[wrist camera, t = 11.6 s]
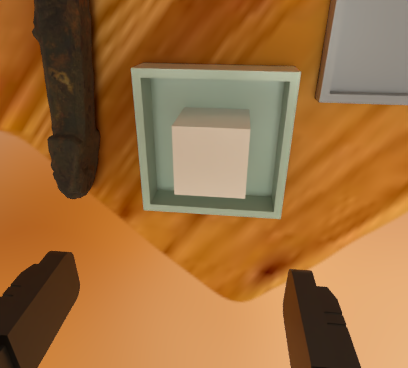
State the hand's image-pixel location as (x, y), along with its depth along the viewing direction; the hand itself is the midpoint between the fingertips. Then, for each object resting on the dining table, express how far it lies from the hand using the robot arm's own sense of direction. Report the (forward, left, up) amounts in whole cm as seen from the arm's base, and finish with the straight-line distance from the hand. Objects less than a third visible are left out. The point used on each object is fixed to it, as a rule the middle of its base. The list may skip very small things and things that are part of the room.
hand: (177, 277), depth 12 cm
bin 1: (0, 0, -16) cm, 16 cm away
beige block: (0, 0, -16) cm, 16 cm away
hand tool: (-10, +4, -17) cm, 20 cm away
